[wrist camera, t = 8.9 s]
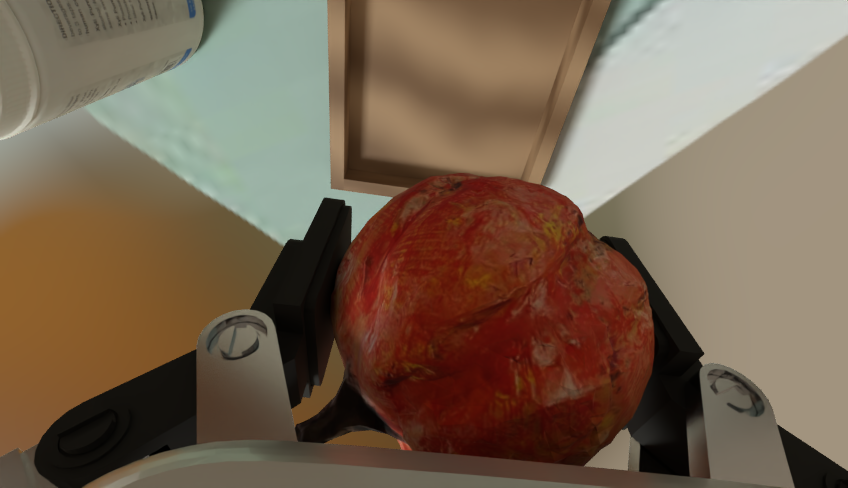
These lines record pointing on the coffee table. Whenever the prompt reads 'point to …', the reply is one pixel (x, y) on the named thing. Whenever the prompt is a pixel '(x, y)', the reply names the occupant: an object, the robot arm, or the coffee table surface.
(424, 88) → the tray
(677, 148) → the coffee table surface
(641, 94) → the coffee table surface
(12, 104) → the supplement tub
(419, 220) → the pomegranate
